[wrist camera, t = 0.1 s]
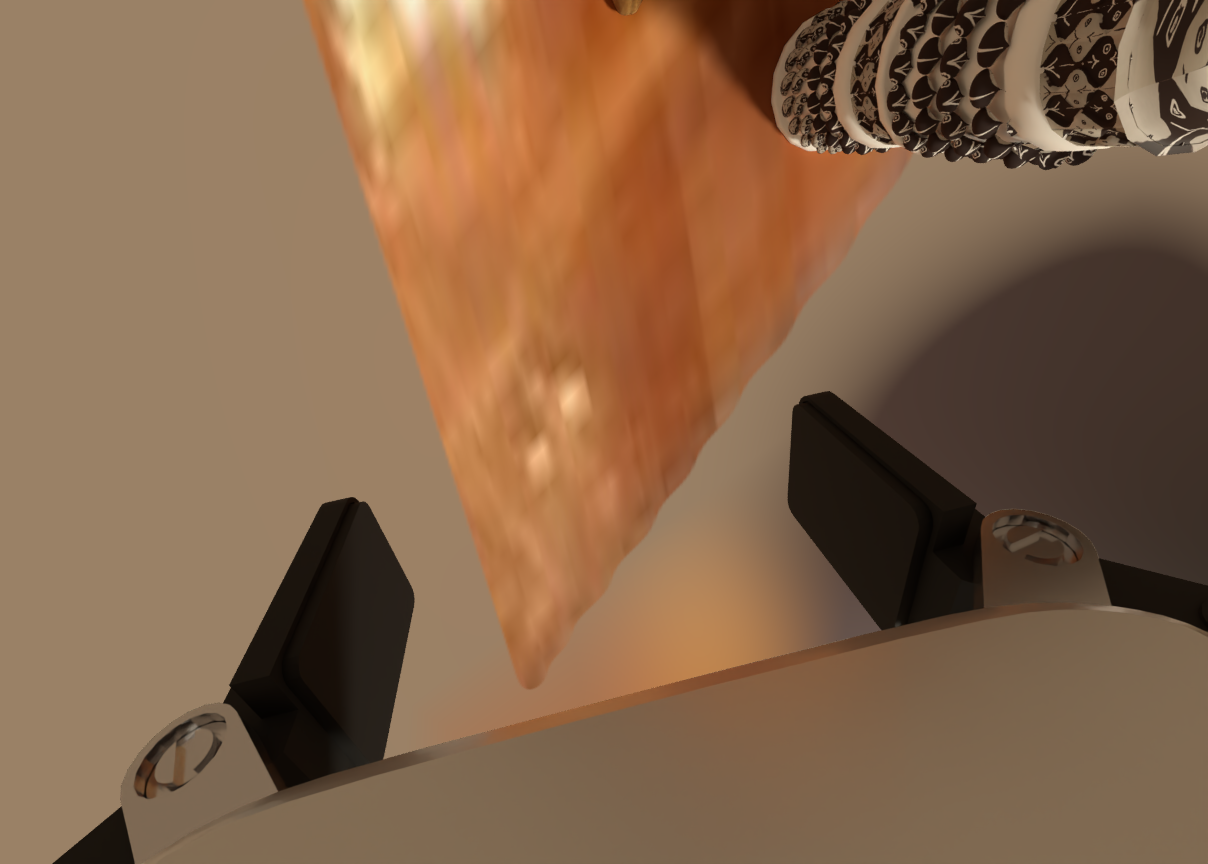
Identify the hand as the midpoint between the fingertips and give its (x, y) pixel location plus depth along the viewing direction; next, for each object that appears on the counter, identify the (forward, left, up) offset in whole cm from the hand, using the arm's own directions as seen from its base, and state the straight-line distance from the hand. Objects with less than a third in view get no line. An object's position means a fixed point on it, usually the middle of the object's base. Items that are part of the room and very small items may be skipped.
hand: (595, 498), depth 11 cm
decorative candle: (-7, +23, -31) cm, 40 cm away
